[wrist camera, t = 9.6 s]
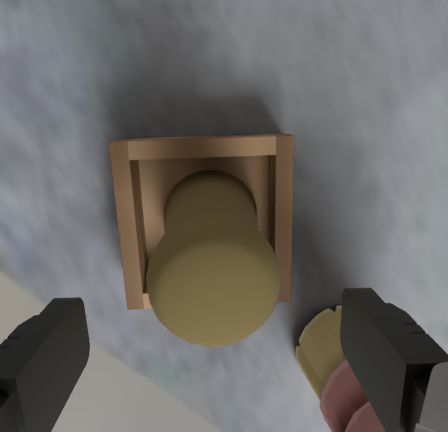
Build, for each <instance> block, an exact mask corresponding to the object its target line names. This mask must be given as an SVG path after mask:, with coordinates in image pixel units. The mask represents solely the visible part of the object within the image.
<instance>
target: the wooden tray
mask: <svg viewBox="0 0 448 432" xmlns="http://www.w3.org/2000/svg"><path fill="white" fill-rule="evenodd" d="M109 151H110V160H111V169H112V178H113V186H114V195H115V204H116V213H117V221H118V230H119V239H120V248H121V256H122V265H123V274H124V283H125V291H126V300H127V309H128V310H131V309H151V308H152V306H151V304H150V302H149V297H148V289H147V282H146V274H147V270H148V265H149V261H150V257H151V255H152V253H153V251H154V249H155V248H156V246H157V244H158V243H159V241H160V240H161V238H162V236H163V235H164V234H165V230H164V209H165V204H166V200H167V197H168V196H169V194H170V192H171V191H172V189H173V187H174V186H175V185H176V184H177V183H179V182H180V181H181V180H182V179H183V178H185V177H186V176H188V175H191V174H193V173H196V172H198V171H205V170H218V171H222V172H226V173H230V174H231V175H233V176H235V177H236V178H238V179H239V180H241V181H242V182H243V183H244V184H245V185H246V186H247V188H248V189H249V190H250V191H251V193H252V195H253V198H254V200H255V203H256V205H257V226H258V230H259V232H260V233H261V234H262V235H263V236H264V237H265V239H266V240H267V241H268V242H269V243H270V245H271V247H272V249H273V251H274V254H275V257H276V259H277V262H278V265H279V272H280V290H279V295H278V298H277V301H276V302H288V301H291V271H292V223H293V175H294V136H293V135H288V134H284V133H273V134H243V135H213V136H183V137H154V138H124V139H119V140H115V141H110V142H109Z"/></svg>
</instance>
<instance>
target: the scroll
mask: <svg viewBox="0 0 448 432" xmlns="http://www.w3.org/2000/svg"><path fill="white" fill-rule="evenodd" d="M341 311H342V306H340V305H337V307H336V310H335V312H334V311H332V310H331V309H329V308H327V309H326V310H324V311H322V312H321V313H319V314H317V315H316V316H315V317H314V318H313V319H312V320H311V321H310V323H309V324H308V325H307V326H306V327H305V328H304V330H303V332H302V334H301V336H300V338H299V343H300V346H296V358H297V361H298V363H299V366H300V368H301V369H302V371H303V373H304V374H305V376H306V378H307V380H308V381H309V383H310V385H311V386H312V388H313V390H314V391H315V393H316V395H317V397H318V398H319V400H320V409H321V412H322V414H323V417H324V420H325V421H326V423H327V424H328V426H329V428H330V429H331V431H332V432H385V430H384V428H383V426H382V424H381V422H380V421H379V419H378V417H377V415H376V413H375V411H374V410H373V408H372V406H371V404H370V402H369V400H368V398H367V397H366V395H365V393H364V391H363V389H362V387H361V385H360V384H359V382H358V380H357V378H356V376H355V374H354V373H353V371H352V369H351V367H350V365H349V363H348V361H347V360H346V358H345V356H344V354H343V351H342V347H341V342H340V326H341Z"/></svg>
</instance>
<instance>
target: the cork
mask: <svg viewBox="0 0 448 432" xmlns="http://www.w3.org/2000/svg"><path fill="white" fill-rule="evenodd" d="M164 230H165V234H164V235H163V236H162V238H161V240H160V241H159V243H158V244H157V246H156V248H155V249H154V251H153V253H152V255H151V257H150V261H149V265H148V270H147V274H146V282H147V289H148V297H149V302H150V304H151V306H152V308H153V310H154V312H155V314H156V316H157V318H158V320H159V321H160V322H161V323H162V324H163V325H164V326H165V327H166V328H167V329H168V330H169V331H170V332H171V333H173V334H174V335H176V336H178V337H180V338H182V339H184V340H186V341H188V342H190V343H192V344H197V345H202V346H207V347H213V346H226V345H230V344H232V343H235V342H238V341H240V340H243V339H245V338H246V337H248V336H249V335H250V334H252V333H253V332H254V331H256V330H257V329H258V328H260V327H261V326H262V325H263V324H264V322H265V321H266V320H267V318H268V317H269V316H270V314H271V313H272V312H273V310H274V307H275V304H276V301H277V298H278V295H279V290H280V272H279V265H278V262H277V259H276V257H275V254H274V251H273V249H272V247H271V245H270V243H269V242H268V241H267V240H266V239H265V237H264V236H263V235H262V234H261V233H260V232H259V230H258V226H257V205H256V203H255V200H254V198H253V195H252V193H251V191H250V190H249V189H248V188H247V186H246V185H245V184H244V183H243V182H242V181H241V180H239V179H238V178H236V177H235V176H233V175H231V174H230V173H226V172H222V171H218V170H205V171H198V172H196V173H193V174H191V175H188V176H186V177H185V178H183V179H182V180H181V181H180V182H179V183H177V184H176V185H175V186H174V187H173V189H172V191H171V192H170V194H169V196H168V197H167V200H166V204H165V209H164Z"/></svg>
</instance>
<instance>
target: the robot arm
mask: <svg viewBox="0 0 448 432" xmlns="http://www.w3.org/2000/svg"><path fill="white" fill-rule="evenodd" d="M340 342H341V347H342V351H343V354H344V356H345V358H346V360H347V361H348V363H349V365H350V367H351V369H352V371H353V373H354V374H355V376H356V378H357V380H358V382H359V384H360V385H361V387H362V389H363V391H364V393H365V395H366V397H367V398H368V400H369V402H370V404H371V406H372V408H373V410H374V411H375V413H376V415H377V417H378V419H379V421H380V422H381V424H382V426H383V428H384V430H385V432H448V354H447V353H446V352H445V351H444V350H443V349H442V348H441V347H440V346H439V345H438V344H437V343H436V342H435V341H434V340H433V339H432V338H431V337H430V336H429V335H428V334H426V333H425V331H424V330H423V329H422V328H421V327H420V326H419V325H417V323H416V322H415V321H414V320H413V319H412V318H411V316H410V315H409V314H408V313H407V312H405V311H403V310H402V309H400V308H398V307H396V306H395V305H393V304H391V303H385V302H384V301H383V300H382V299H381V298H380V297H379V296H378V295H377V294H376V293H375V291H374V290H373V289H372V288H347V289H345V290H344V292H343V297H342V311H341V326H340ZM89 349H90V343H89V335H88V329H87V322H86V315H85V308H84V303H83V300H82V299H81V298H79V297H78V298H54V299H53V300H52V301H51V302H50V303H49V304H48V305H47V306H46V307H45V309H44V310H43V311H42V312H41V313H40V314H39V315H35V316H33V317H32V318H30V319H28V320H27V321H25V322H23V323H22V324H20V325H18V327H17V328H16V329H15V330H14V331H13V332H12V333H11V334H10V335H9V336H8V338H7V339H5V340H4V341H3V342H2V344H0V432H51V431H52V429H53V427H54V425H55V423H56V421H57V419H58V417H59V415H60V414H61V411H62V410H63V408H64V406H65V404H66V402H67V400H68V398H69V396H70V394H71V392H72V390H73V389H74V387H75V385H76V383H77V381H78V379H79V377H80V375H81V373H82V371H83V370H84V368H85V366H86V364H87V361H88V357H89Z"/></svg>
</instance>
